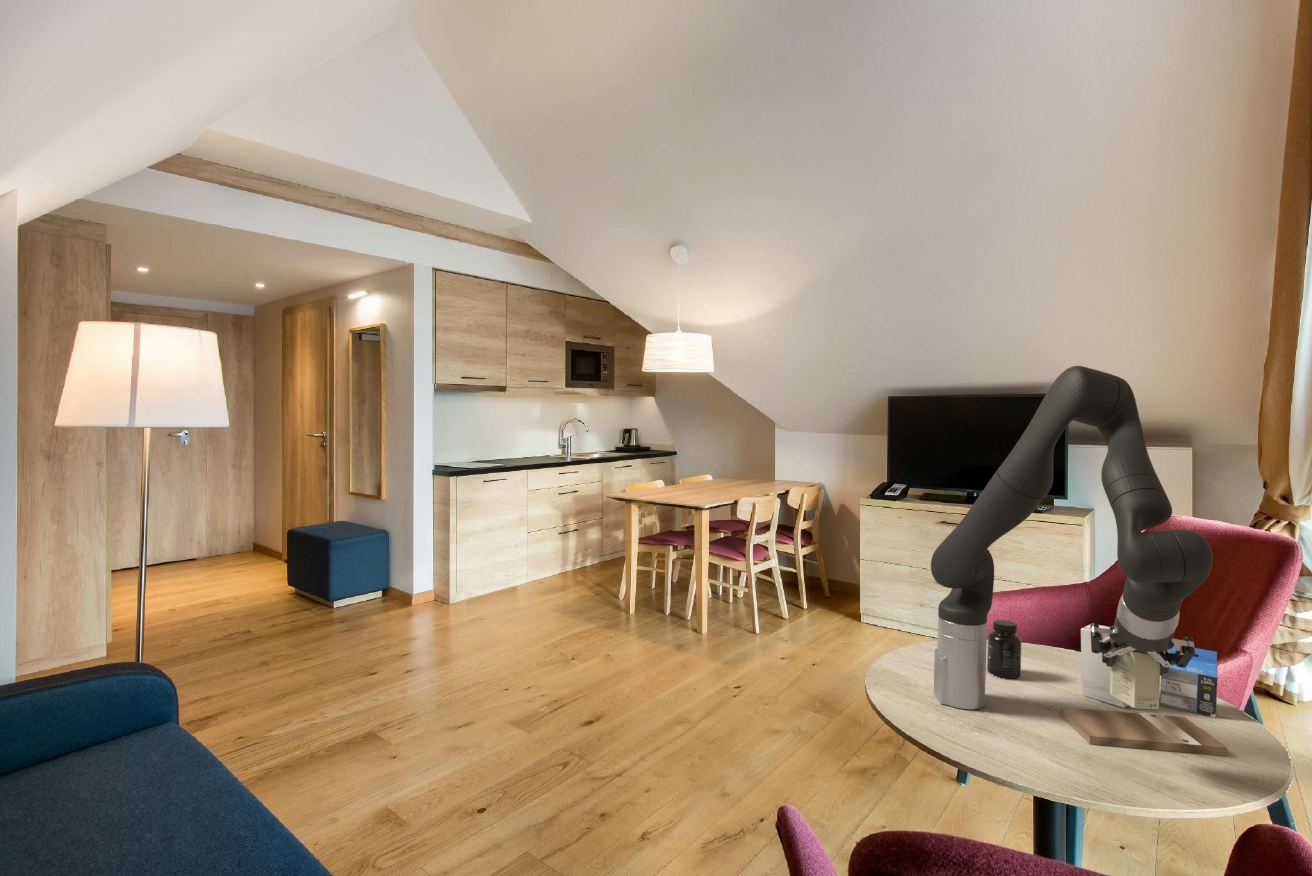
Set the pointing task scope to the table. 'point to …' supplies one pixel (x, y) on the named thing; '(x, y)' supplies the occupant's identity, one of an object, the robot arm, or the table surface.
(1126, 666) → the skincare box
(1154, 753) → the table surface
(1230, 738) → the table surface
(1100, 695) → the skincare box
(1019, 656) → the supplement bottle
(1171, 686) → the label tape cartridge
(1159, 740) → the subfloor panel
